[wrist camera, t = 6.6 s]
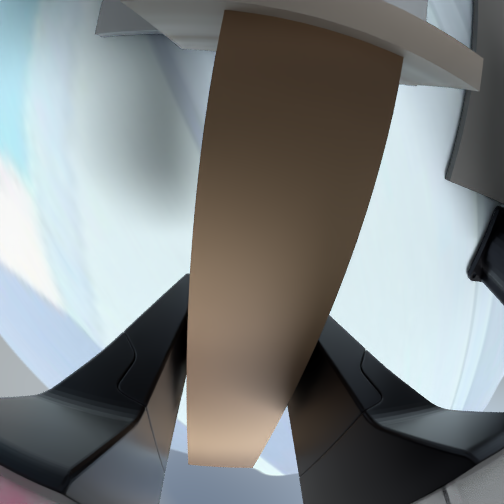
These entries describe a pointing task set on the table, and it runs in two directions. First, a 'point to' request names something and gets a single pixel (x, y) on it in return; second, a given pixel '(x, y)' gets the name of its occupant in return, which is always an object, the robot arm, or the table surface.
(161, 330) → the robot arm
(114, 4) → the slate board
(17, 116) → the table surface
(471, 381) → the table surface
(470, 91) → the rest
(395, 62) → the light brown wooden bar
